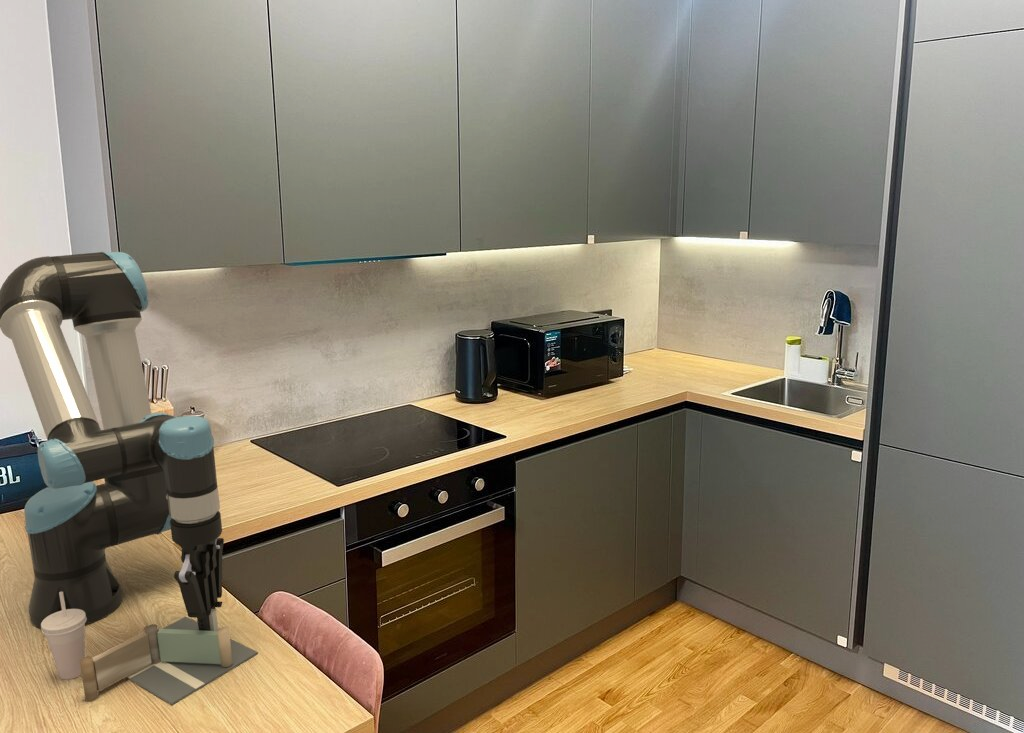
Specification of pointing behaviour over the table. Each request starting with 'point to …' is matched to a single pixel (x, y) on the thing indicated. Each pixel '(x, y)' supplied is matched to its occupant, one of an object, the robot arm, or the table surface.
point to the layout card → (185, 670)
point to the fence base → (119, 662)
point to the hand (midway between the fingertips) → (210, 646)
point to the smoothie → (66, 639)
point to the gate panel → (195, 646)
